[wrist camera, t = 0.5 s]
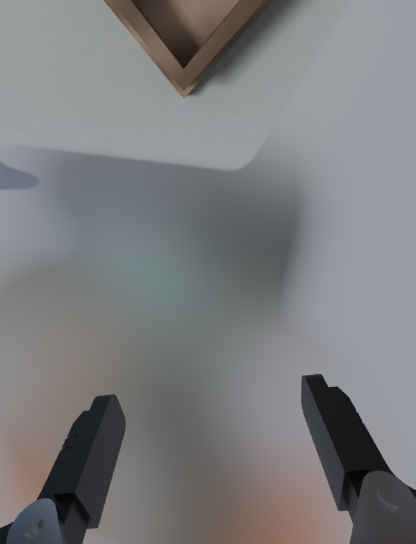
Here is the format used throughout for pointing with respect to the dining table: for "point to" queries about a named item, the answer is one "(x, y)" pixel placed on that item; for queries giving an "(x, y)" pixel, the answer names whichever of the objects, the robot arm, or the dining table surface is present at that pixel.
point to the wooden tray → (186, 32)
